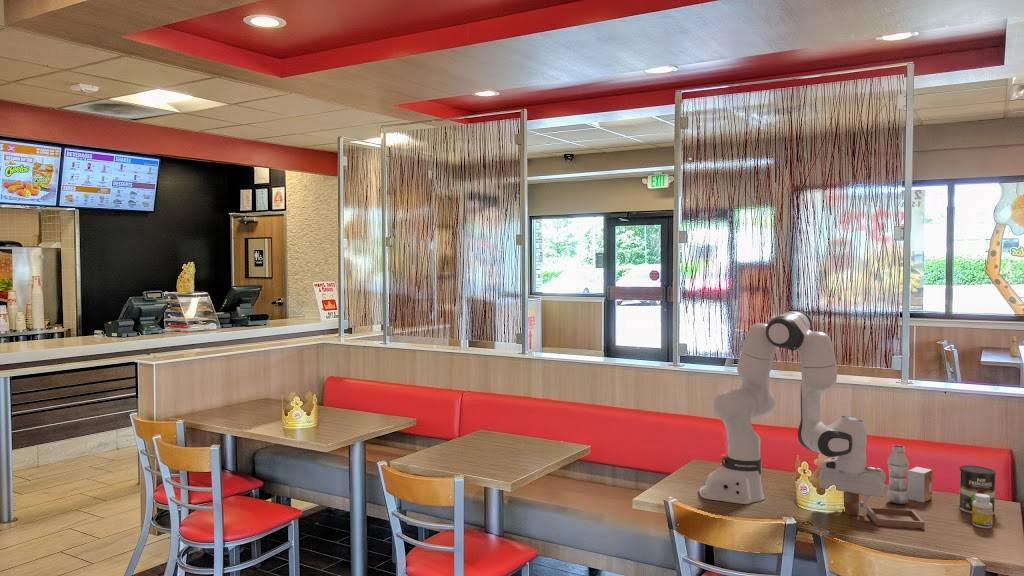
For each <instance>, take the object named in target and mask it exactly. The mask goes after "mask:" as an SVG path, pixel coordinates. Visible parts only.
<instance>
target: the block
mask: <svg viewBox="0 0 1024 576" xmlns="http://www.w3.org/2000/svg"><path fill="white" fill-rule="evenodd" d="M843 498H844V507H845V512H844V513H845V514H846V513H849V514H848V515H857V514H859V515H860V494H856V493H850V492H843Z"/></svg>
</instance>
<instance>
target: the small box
mask: <svg viewBox="0 0 1024 576" xmlns="http://www.w3.org/2000/svg"><path fill="white" fill-rule="evenodd" d="M907 491H908V495H909V500H908V501H914V502H919V503H923V504H924V503H927V502H928V501H929V500H932V499H933V469H930V468H925V467H920V466H915V467H913V468H912V469H908V471H907Z"/></svg>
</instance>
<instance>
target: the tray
mask: <svg viewBox="0 0 1024 576" xmlns="http://www.w3.org/2000/svg"><path fill="white" fill-rule="evenodd" d="M866 514H867V515H868V516H869V518H870V519H871V520H872V522H873V523H874V524H875V526H880V527H889V528H890V527H891V528H902V527H908V528H907V529H915V528H923V529H922V530H925V529H926V528H925V521H924V520H923V519H922V518H921V517H920V516H919V514H917V512H916V511H914V510H913V509H906V508H891V507H878V506H877V507H876V506H866Z"/></svg>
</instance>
